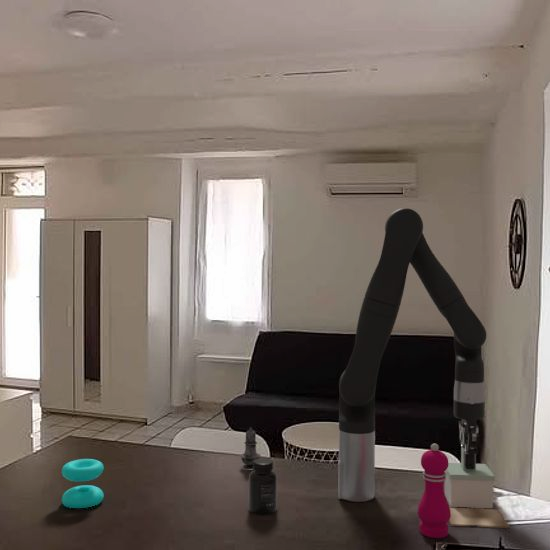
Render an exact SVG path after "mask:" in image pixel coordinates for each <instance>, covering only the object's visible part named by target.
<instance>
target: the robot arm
mask: <svg viewBox="0 0 550 550" xmlns="http://www.w3.org/2000/svg"><path fill="white" fill-rule="evenodd" d="M384 231H385V232H384V239H383V245H382V249H381V254H380V256H379V260H378V262H377V263H378V264H377V265H376V267H375V269H374V272H373V274H372V276H371V278H370V281H369V284H368V286H367V288H366V291H365V294H364V297H363V301H362V304H361V306H360V311H359V315H358V321H357V325H356V326H357V327H356V332H355V340H354V346H353V349H352V353H351V356H350V358H349V361H348V364H347V366H346V368H345V370H344V371H343V372H342V374H341V375H340V378H339V381H338V382H339V383H338V389H339V391H338V392H339V399H338V400H339V401H338V402H339V403H338V406H339V407H338V408H339V409H338V410H339V411H338V461H337V462H338V473H337V475H338V477H337V478H338V481H337V482H338V483H337V484H338V486H337V490H338V491H337V492H338V499H339V500H344V501H345V500H346V501H349V502H355V503H357V502H359V503H360V502H362V503H363V502H368V501H371V500H373V499H374V498H375V478H376V477H375V467H376V465H375V463H376V461H375V460H376V459H375V458H376V457H375V456H376V454H375V453H376V451H375V449H376V406H375V405H376V388H377V382H378V381H377V380H378V374H379V372H380V371H379V370H380V365H381V360H382V357H383V354H384V352H385V350H386V347H387V344H388V342H389V340H390V338H391V335H392V333H393V329H394V326H395V323H396V320H397V318H398V314H399V310H400V307H401V303H402V300H403V296H404V295H403V294H404V291H405V286H406V280H407V275H408V270H409V266H410V265H411V266H412V268H413V269H414V271H415V273H416V274H417V276H418V277H419V279H420V281H421V284H422V286H424V288H425V290H426V292H427V293H428V296H429V297H430V299H431V301H432V302H433V304H434V306H436V308H437V310H438V312H439V313H440V314H441V315H442V317H444V318H445V320H446V321H447V323H448V324H449V326H450V328H451V329H452V332H453V343H454V344H453V347H454V354H455V355H454V356H455V367H454V386H453V416H454V417H455V418H457V419H460V420H459V421H458V429H459V431H458V433H459V444H460V447H461V448H465V467H466V469H474V468H475V455H476V456H477V455H478V453H479V445H480V437H481V435H480V433H479V425H477V421H480V420H484V419H485V415H486V414H485V413H486V411H485V407H486V406H485V405H486V400H485V399H486V389H485V365H484V363H485V362H484V361H483V358H482V346H483V345H484V344H485V342H486V340H487V331H486V327H485V326H484V325H483V323H482V321H481V320H480V319H479V317H478V316H477V315H476V314H475V313H476V312H474V311H473V310H472V307H470V305H469V304H468V302H467V301H466V299H465V296H464V295H463V293H462V291H461V290H460V288H459V286H457V284H456V282H455V281H454V279H453V278H452V277H451V275H450V274H449V272H448V271H447V270H446V268H445V267H444V266H443V265H442V264H441V262H440V261H439V260H438V258H437V257H436V255H435V254H434V253H433V251H432V249H431V247H430V245H429V244H428V242H427V240H426V238H425V234H424V232H423V231H424V222H423V219H422V217H421V215H420V214H419V213H418V212H417V211H415V210H414V209H412V208H408V207H403V208H399V209H396V210H394V211H393V212H391V214H390V215H389V216H388V218H387V219H386V221H385V225H384ZM461 448H460V449H461ZM470 448H473V449H470Z"/></svg>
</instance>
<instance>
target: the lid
mask: <svg viewBox="0 0 550 550" xmlns="http://www.w3.org/2000/svg"><path fill="white" fill-rule="evenodd" d="M470 449H473V447H472V448H470ZM460 455H461V456H460V462H448V468H447V469H446V470H445V471H446V472H447V474H448V476H449V478H450V479H451V480H481V481H493V482H495V478H496V477H495V475H494V473H493V472H492V471H491V470H490V468H489V467H488V465H487V464H485V463H477V454H476V455H475V468H474V469H466V467H465V448H460Z"/></svg>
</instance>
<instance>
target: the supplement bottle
mask: <svg viewBox="0 0 550 550" xmlns="http://www.w3.org/2000/svg"><path fill="white" fill-rule="evenodd" d="M253 470H254V471H251V472H250V474H249V475H248V509H249V512H250V513H252V514H254V515H257V516H258V515H259V516H267V515H268V514H269V515H271V514H274V513H276V512H277V508H278V475H277V473H276V472H275V470H274V461H273V460H272V459H270V458H261V457H260V458H259V459H256V460H254V461H253ZM273 470H274V471H273ZM269 515H268V516H269Z"/></svg>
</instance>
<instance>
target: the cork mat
mask: <svg viewBox="0 0 550 550" xmlns="http://www.w3.org/2000/svg"><path fill="white" fill-rule="evenodd" d="M450 512H451V517H450V520H449V521H448V522H449V524H450V526H452V527H470V526H477V527H476V528H496V529H497V528H499V529H500V528H501V529H503V528H504V529H510V527H511V526H510V525H509V523H508V521H507V520H506V518H505V517H504V516H503V514H502V513H501V512H500V510H499V509H494V508H493V509H484V508H457V507H450Z"/></svg>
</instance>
